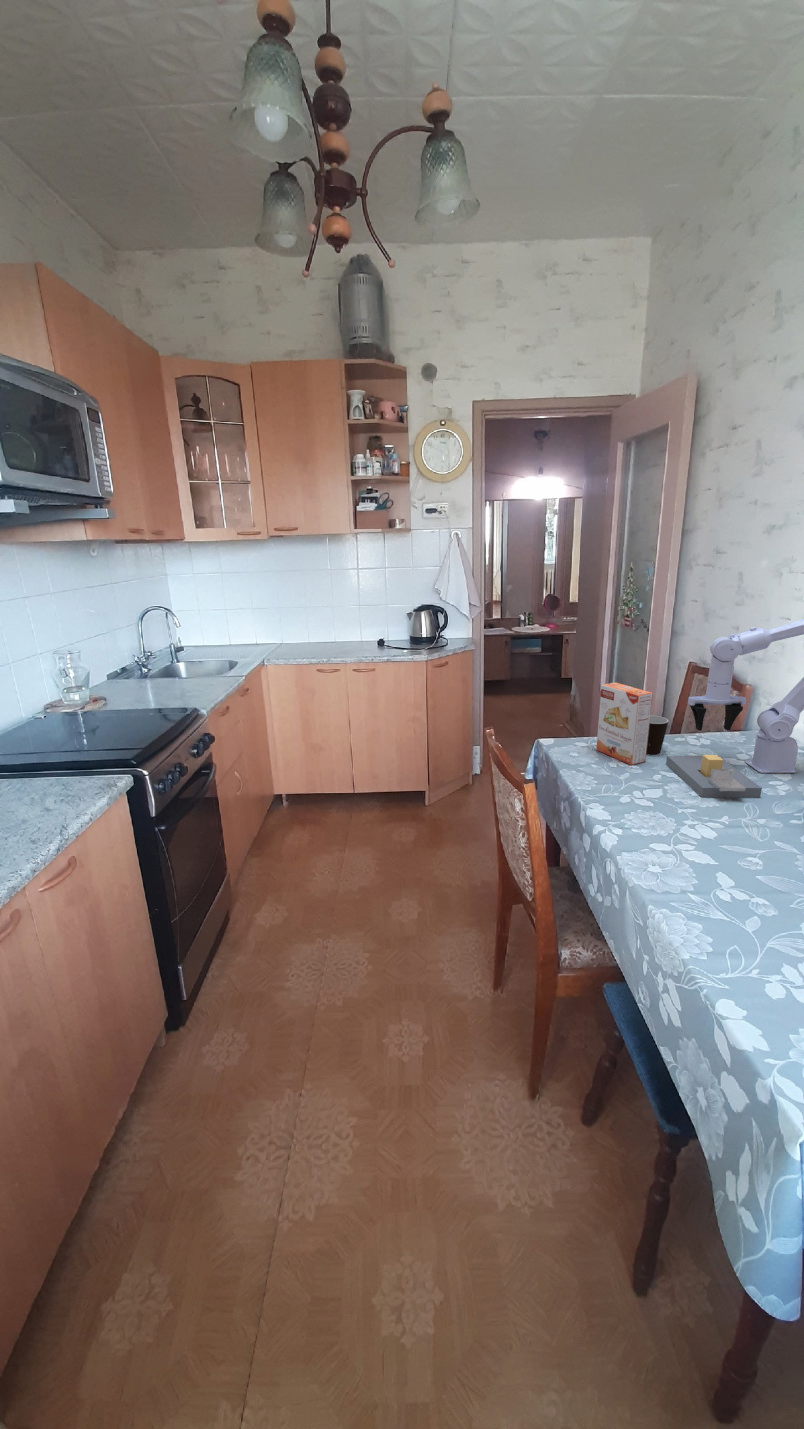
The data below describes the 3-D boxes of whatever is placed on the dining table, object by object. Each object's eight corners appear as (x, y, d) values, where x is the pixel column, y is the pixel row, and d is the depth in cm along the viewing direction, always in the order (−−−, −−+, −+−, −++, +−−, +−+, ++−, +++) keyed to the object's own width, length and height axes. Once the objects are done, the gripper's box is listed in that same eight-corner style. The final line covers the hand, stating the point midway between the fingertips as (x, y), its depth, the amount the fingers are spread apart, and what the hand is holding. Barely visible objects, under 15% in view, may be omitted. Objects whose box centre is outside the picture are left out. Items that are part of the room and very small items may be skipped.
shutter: (732, 781, 142) (734, 769, 141) (745, 791, 136) (747, 778, 135) (707, 781, 142) (709, 769, 141) (719, 791, 136) (721, 778, 135)
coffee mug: (669, 755, 166) (673, 723, 163) (640, 756, 166) (643, 724, 163) (653, 742, 177) (657, 712, 174) (625, 743, 178) (628, 712, 175)
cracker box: (594, 750, 172) (600, 683, 166) (609, 747, 174) (615, 681, 168) (630, 766, 159) (637, 694, 153) (646, 762, 162) (654, 691, 156)
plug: (719, 785, 146) (723, 759, 144) (705, 785, 146) (709, 759, 144) (712, 779, 149) (716, 754, 147) (699, 779, 149) (702, 755, 147)
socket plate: (716, 763, 160) (718, 755, 159) (760, 797, 139) (761, 787, 138) (666, 763, 160) (667, 755, 160) (701, 797, 139) (702, 787, 139)
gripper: (739, 678, 157) (732, 724, 161) (685, 678, 158) (680, 725, 162) (753, 684, 150) (745, 732, 154) (697, 684, 151) (690, 733, 155)
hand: (712, 729), depth 158 cm, fingers open, 7 cm apart
